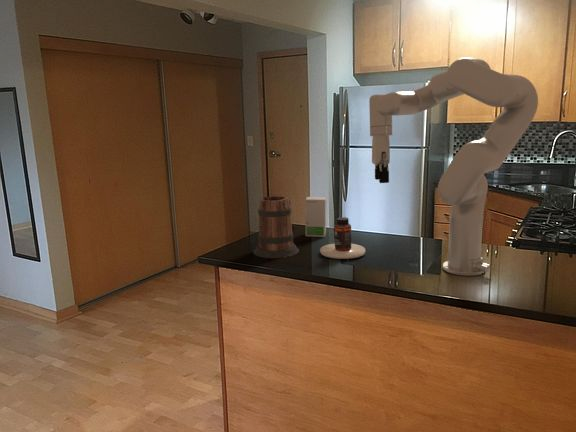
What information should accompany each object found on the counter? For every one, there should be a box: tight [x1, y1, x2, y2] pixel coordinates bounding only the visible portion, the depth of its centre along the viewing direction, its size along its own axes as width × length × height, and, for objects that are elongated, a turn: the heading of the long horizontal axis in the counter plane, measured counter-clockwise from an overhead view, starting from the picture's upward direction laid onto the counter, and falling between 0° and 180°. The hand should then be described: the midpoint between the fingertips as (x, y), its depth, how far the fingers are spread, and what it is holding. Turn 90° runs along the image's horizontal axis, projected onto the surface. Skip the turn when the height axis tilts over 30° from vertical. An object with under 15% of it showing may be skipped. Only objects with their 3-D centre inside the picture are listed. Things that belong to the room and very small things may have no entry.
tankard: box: [253, 195, 300, 259], centre depth 175 cm, size 24×17×20 cm
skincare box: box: [304, 196, 327, 238], centre depth 193 cm, size 8×7×16 cm
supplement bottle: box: [334, 216, 352, 251], centre depth 167 cm, size 6×6×11 cm
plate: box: [319, 242, 366, 260], centre depth 168 cm, size 16×16×2 cm
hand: (381, 181), depth 165 cm, fingers open, 9 cm apart
